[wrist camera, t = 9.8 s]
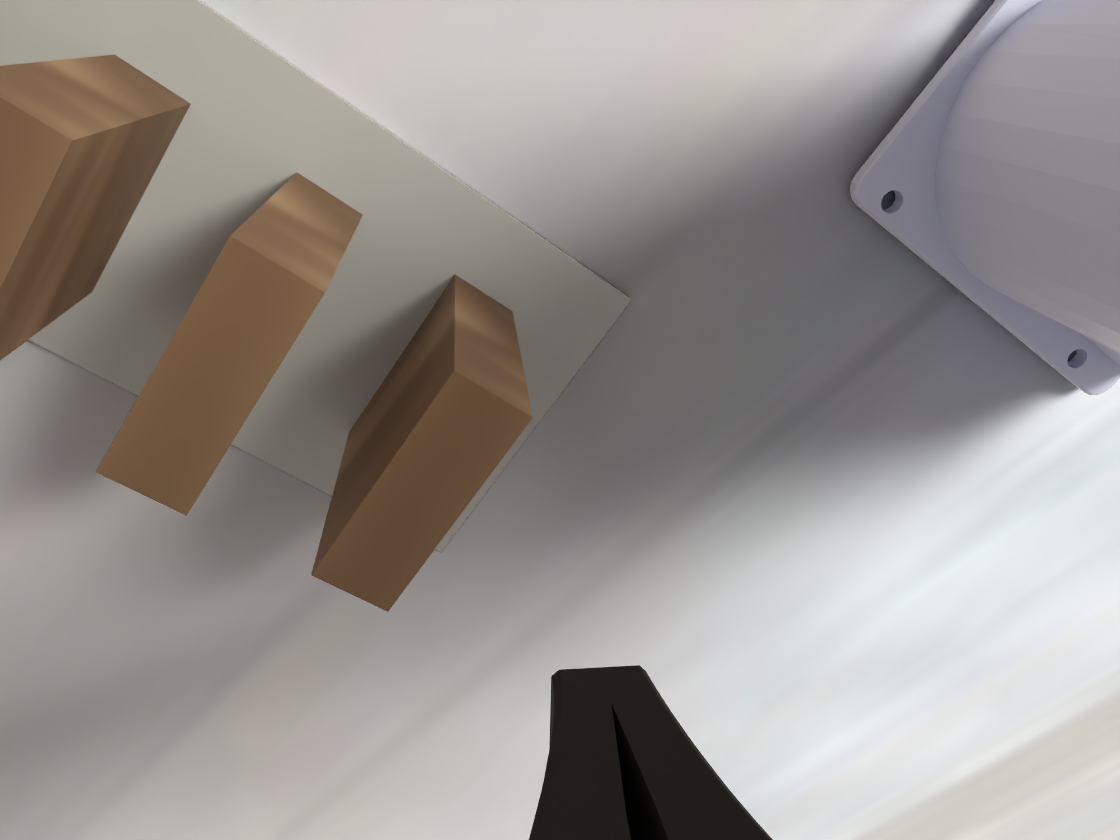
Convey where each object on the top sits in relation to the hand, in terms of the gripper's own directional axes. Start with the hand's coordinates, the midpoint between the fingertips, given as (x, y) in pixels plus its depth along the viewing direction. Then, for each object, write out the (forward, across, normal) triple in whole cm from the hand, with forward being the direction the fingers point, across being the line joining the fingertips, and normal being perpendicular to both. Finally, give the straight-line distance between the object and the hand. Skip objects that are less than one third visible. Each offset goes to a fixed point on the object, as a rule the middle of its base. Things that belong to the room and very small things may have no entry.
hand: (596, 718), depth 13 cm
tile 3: (+10, +9, -6) cm, 15 cm away
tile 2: (+10, +6, -4) cm, 12 cm away
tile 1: (+10, +3, -2) cm, 10 cm away
